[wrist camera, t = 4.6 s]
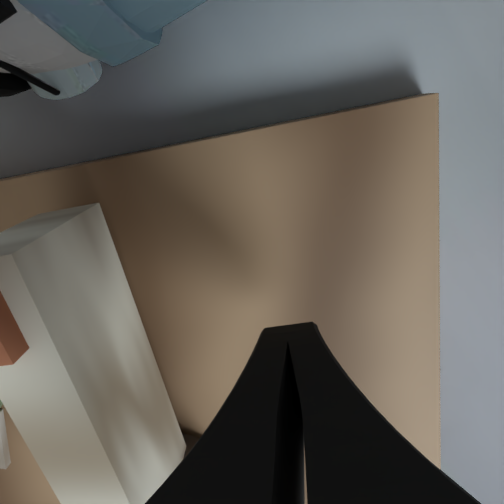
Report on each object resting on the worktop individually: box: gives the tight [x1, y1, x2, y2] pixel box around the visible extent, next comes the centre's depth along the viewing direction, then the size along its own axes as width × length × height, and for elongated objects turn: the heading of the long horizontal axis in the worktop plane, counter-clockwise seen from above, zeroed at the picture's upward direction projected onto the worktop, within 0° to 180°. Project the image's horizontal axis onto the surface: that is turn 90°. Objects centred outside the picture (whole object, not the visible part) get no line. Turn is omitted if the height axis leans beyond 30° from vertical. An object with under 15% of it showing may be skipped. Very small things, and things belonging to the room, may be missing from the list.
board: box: [0, 93, 440, 504], centre depth 14 cm, size 20×20×1 cm
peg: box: [0, 203, 199, 504], centre depth 11 cm, size 14×4×5 cm, turn 11°
